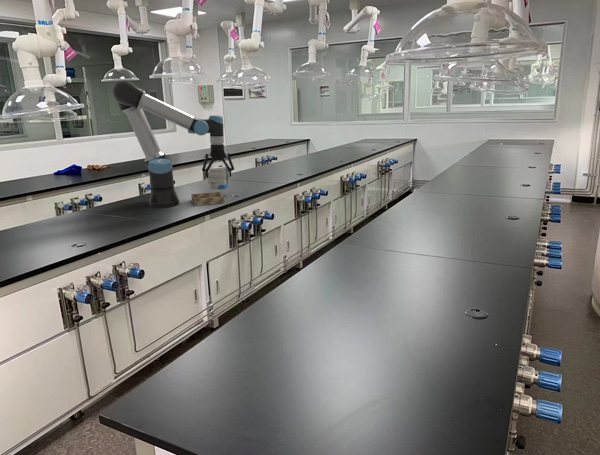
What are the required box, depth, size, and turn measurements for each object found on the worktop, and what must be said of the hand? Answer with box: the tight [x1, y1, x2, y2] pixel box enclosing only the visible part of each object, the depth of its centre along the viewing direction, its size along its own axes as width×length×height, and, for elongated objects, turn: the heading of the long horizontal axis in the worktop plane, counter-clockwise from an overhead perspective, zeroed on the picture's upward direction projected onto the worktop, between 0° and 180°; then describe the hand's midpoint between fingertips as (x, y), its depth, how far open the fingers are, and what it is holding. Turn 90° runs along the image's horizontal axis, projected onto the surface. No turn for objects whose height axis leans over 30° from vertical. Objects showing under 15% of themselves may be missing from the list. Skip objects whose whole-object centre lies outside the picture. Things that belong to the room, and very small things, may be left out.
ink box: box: [208, 166, 229, 190], centre depth 255 cm, size 9×8×12 cm
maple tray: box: [191, 191, 225, 206], centre depth 241 cm, size 16×14×3 cm
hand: (218, 183), depth 256 cm, fingers closed on ink box, 11 cm apart
